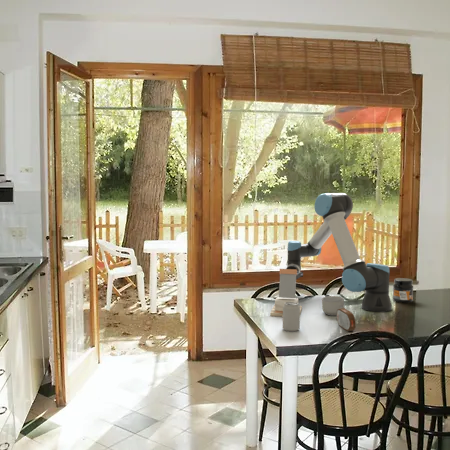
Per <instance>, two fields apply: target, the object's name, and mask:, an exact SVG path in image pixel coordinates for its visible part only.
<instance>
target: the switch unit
mask: <svg viewBox="0 0 450 450" xmlns="http://www.w3.org/2000/svg"><path fill="white" fill-rule="evenodd" d="M286 302H296V303H298V304H299V298H298V297H297V298H296V297H295V298H282V297H279V296H277V297H276V298H275V299H274V305H273V307H272V308H271V311H270V312H269V313H270V315H269V316H271V317H282V318H283V306H284V305H285V304H284V303H286ZM299 306H300V315H301V313H302V309H303V306H302V305H299Z"/></svg>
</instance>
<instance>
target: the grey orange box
mask: <svg viewBox="0 0 450 450" xmlns="http://www.w3.org/2000/svg"><path fill="white" fill-rule="evenodd" d="M296 275H297V270H296V269H286V268H279V284H278V285H279V286H278V287H279V288H278V297H280V298H296V289H297V288H296V287H297V286H296V285H297V279H296Z"/></svg>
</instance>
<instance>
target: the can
mask: <svg viewBox="0 0 450 450" xmlns="http://www.w3.org/2000/svg"><path fill="white" fill-rule="evenodd" d="M284 304H285V305H284V306H283V317H282V329H283V330H284V331H285V332H290V333H291V332H292V333H293V332H298V330H300V326H301V325H300V323H301V322H300V321H301V314H300V306H301V305H299V302H298V303H296V302H286V303H284Z"/></svg>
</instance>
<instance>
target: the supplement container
mask: <svg viewBox="0 0 450 450" xmlns="http://www.w3.org/2000/svg"><path fill="white" fill-rule="evenodd" d="M393 282H394V283H393V285H392V287H393V288H392V300H393V301H394V302H395V301H396V303H399V302H402V303H401V304H409V302H410V303H412V302H413V300H414V299H413V298H414V285H413V282H414V281H413V279H412V278H407V277H404V278H403V277H397V278H396V277H395V278H394V281H393Z"/></svg>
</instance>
